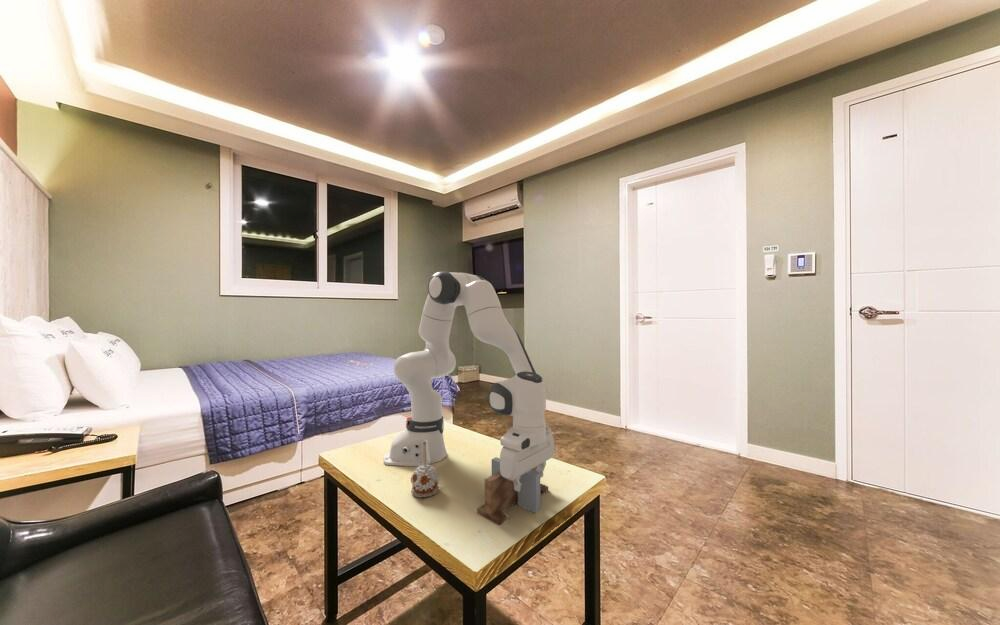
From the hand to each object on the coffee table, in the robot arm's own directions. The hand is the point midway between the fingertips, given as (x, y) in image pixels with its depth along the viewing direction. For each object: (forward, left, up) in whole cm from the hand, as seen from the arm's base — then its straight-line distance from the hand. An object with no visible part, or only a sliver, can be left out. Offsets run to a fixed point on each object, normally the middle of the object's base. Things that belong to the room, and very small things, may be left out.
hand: (529, 483), depth 97 cm
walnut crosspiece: (-4, +4, -7) cm, 9 cm away
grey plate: (-3, +4, -7) cm, 8 cm away
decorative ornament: (-30, +11, -7) cm, 32 cm away
